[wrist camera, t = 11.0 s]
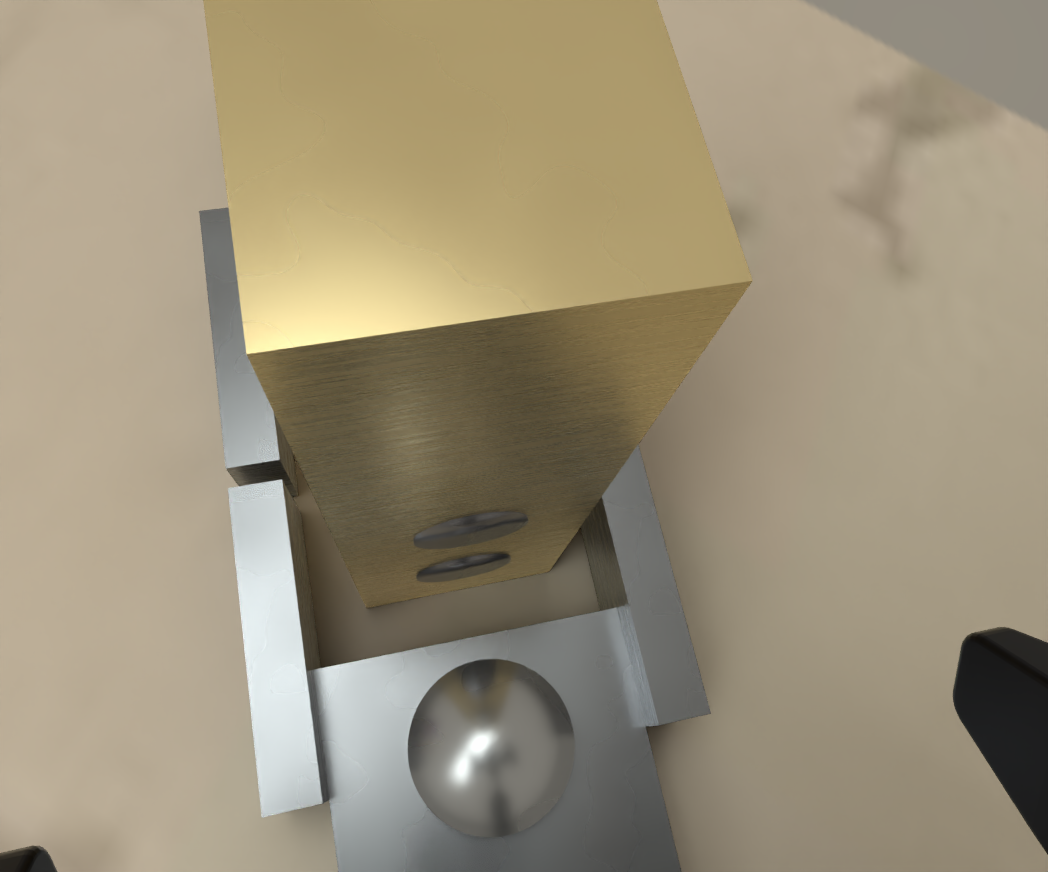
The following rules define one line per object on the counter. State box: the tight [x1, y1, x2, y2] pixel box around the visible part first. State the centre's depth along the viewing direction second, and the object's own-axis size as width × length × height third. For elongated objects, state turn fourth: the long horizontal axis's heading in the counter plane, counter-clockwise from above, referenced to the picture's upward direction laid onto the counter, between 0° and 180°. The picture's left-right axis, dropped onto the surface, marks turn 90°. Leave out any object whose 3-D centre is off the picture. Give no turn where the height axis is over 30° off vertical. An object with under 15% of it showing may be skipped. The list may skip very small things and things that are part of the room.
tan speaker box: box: [203, 0, 753, 608], centre depth 13 cm, size 5×4×12 cm
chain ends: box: [199, 208, 711, 872], centre depth 18 cm, size 23×8×2 cm, turn 12°
